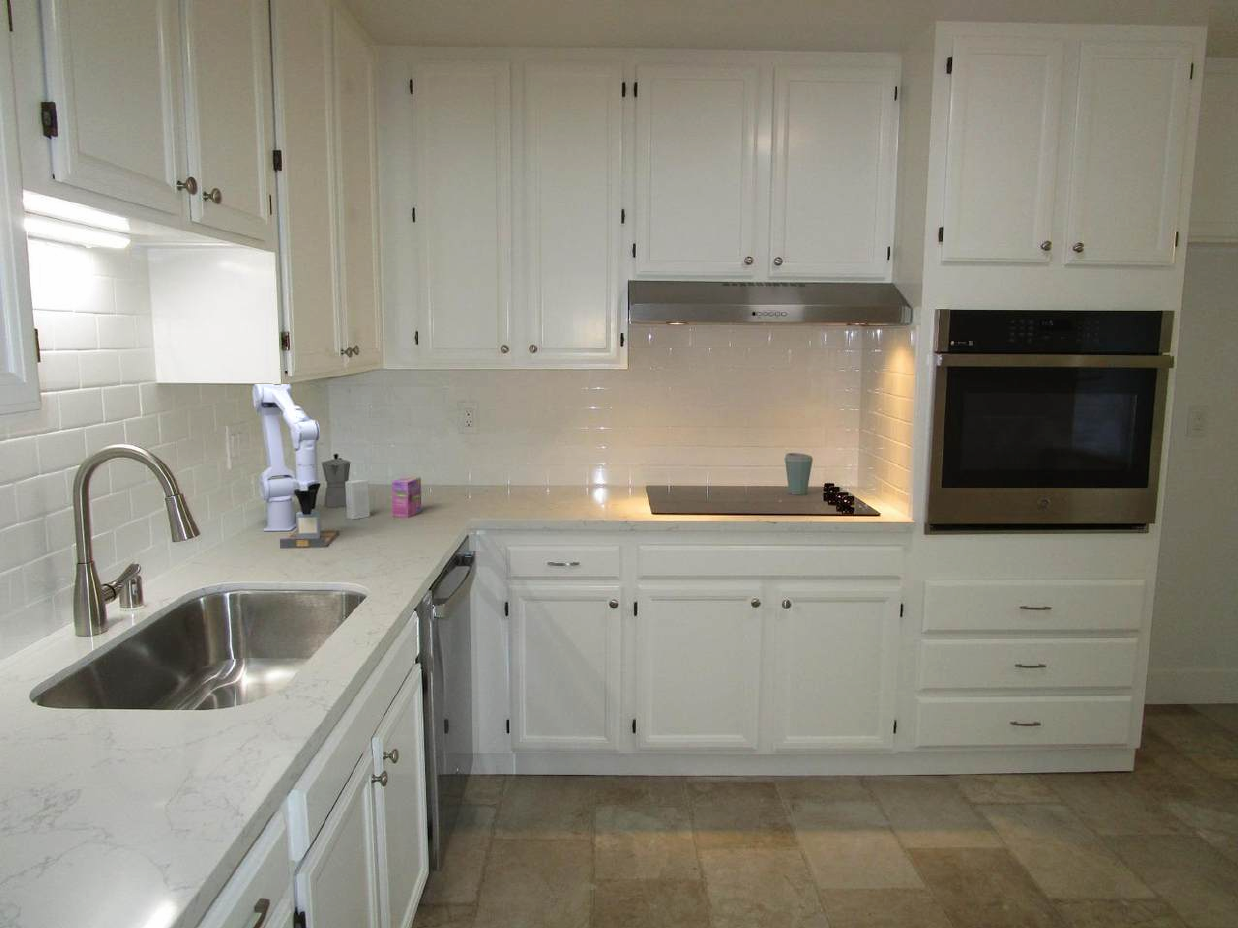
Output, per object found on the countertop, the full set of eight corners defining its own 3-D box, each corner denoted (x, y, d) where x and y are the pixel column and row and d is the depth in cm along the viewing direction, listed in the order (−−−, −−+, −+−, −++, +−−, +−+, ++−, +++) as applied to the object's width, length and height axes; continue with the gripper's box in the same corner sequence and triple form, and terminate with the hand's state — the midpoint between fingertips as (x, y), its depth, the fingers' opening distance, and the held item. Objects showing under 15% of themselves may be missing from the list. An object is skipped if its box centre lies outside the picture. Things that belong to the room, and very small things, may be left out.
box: (408, 518, 276) (407, 481, 274) (392, 517, 277) (391, 481, 275) (422, 511, 286) (421, 476, 284) (406, 511, 287) (405, 476, 285)
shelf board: (296, 534, 251) (296, 530, 251) (338, 533, 252) (338, 529, 252) (281, 547, 235) (281, 543, 235) (326, 546, 236) (326, 542, 236)
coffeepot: (348, 508, 290) (346, 456, 288) (319, 509, 289) (317, 456, 287) (356, 500, 306) (354, 450, 303) (328, 501, 304) (326, 450, 302)
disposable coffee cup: (816, 492, 326) (817, 453, 324) (806, 496, 317) (807, 456, 315) (789, 490, 332) (790, 451, 330) (779, 494, 323) (780, 454, 321)
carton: (299, 536, 244) (297, 511, 243) (321, 535, 245) (320, 511, 244) (297, 539, 240) (295, 514, 239) (319, 538, 241) (318, 513, 240)
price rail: (281, 547, 235) (280, 538, 235) (326, 546, 236) (325, 537, 236) (279, 548, 234) (279, 539, 234) (325, 547, 235) (324, 538, 235)
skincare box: (362, 515, 280) (361, 479, 278) (370, 517, 277) (368, 480, 275) (346, 518, 275) (344, 481, 273) (353, 519, 272) (352, 482, 271)
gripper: (295, 460, 246) (297, 507, 248) (287, 468, 232) (289, 517, 234) (321, 460, 247) (323, 506, 249) (314, 467, 233) (316, 516, 235)
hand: (308, 511), depth 242 cm, fingers open, 7 cm apart
